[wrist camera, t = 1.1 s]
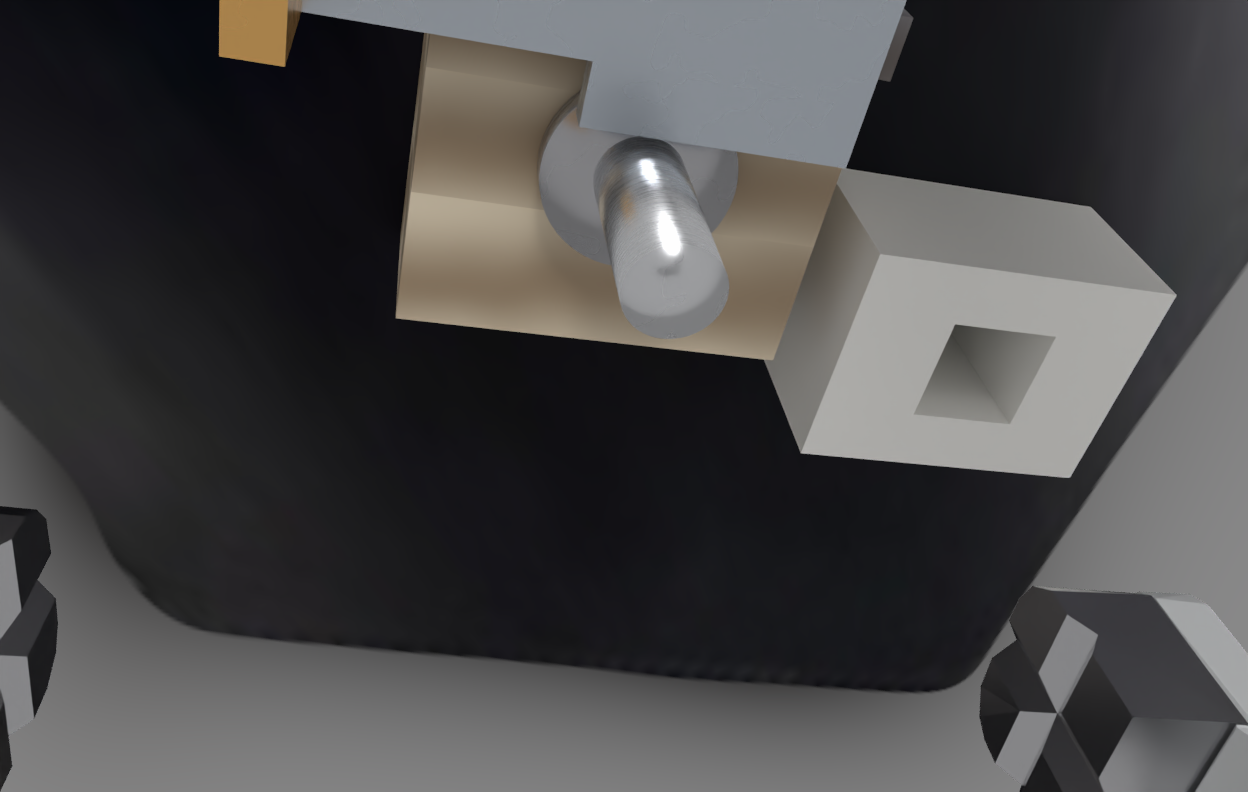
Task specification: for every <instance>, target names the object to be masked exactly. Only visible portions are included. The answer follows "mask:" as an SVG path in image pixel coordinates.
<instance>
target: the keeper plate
mask: <svg viewBox="0 0 1248 792" xmlns="http://www.w3.org/2000/svg"><path fill="white" fill-rule="evenodd" d="M905 3H906V0H220V19H219V56H220V57H227V58H233V59H239V60H245V61H252V62H258V63H264V64H271V65H277V66H283V67H285V65H286V61H287V58H288V55H289V51H290V48H291V45H292V41H293V38H294V34H295V31H296V28H297V24H298V21H299V18H300V14H301V12H307V13H313V14H318V15H324V16H330V17H336V18H342V19H348V20H353V21H359V22H365V23H371V24H377V25H383V26H389V27H394V28H400V29H406V30H412V31H418V32H424V33H430V34H435V35H441V36H447V37H453V38H459V39H465V40H471V41H476V42H482V43H488V44H494V45H500V46H506V47H511V48H517V49H523V50H529V51H535V52H541V53H547V54H552V55H558V56H564V57H570V58H576V59H582V60H587V61H586V66H585V71H584V76H583V81H582V86H581V91H580V96H579V101H578V105H577V110H576V116H577V120H578V124H579V127H583V128H589V129H596V130H602V131H609V132H615V133H621V134H628V135H634V136H640V137H647V138H653V139H660V140H666V141H672V142H679V143H685V144H692V145H698V146H704V147H711V148H717V149H723V150H730V151H736V152H743V153H749V154H755V155H762V156H768V157H775V158H781V159H787V160H794V161H800V162H806V163H813V164H819V165H826V166H832V167H838V168H845V169H846V167H847V164H848V161H849V158H850V156H851V153H852V150H853V147H854V145H855V142H856V139H857V136H858V133H859V131H860V128H861V125H862V122H863V120H864V117H865V114H866V111H867V109H868V106H869V103H870V100H871V97H872V95H873V92H874V89H875V86H876V84H877V81H878V78H879V75H880V72H881V70H882V67H883V64H884V61H885V59H886V56H887V53H888V50H889V48H890V45H891V42H892V39H893V36H894V34H895V31H896V28H897V25H898V23H899V20H900V17H901V14H902V12H903V9H904V6H905Z"/></svg>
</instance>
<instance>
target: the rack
mask: <svg viewBox="0 0 1248 792" xmlns="http://www.w3.org/2000/svg"><path fill="white" fill-rule="evenodd" d="M1176 296H1177V295H1176V294H1175V293H1174V292H1173V291H1172V290H1171V289H1170V288H1169V287H1168V286H1167V285H1166V284H1165V283H1164V282H1163V281H1162V279H1161V278H1160V277H1159V276H1158V275H1157V274H1156V273H1155V272H1154V271H1153V270H1152V269H1151V268H1150V267H1149V266H1148V265H1147V264H1146V263H1145V262H1144V261H1143V260H1142V259H1141V258H1140V257H1139V256H1138V255H1137V254H1136V253H1135V252H1134V251H1133V250H1132V249H1131V248H1130V247H1129V246H1128V245H1127V244H1126V243H1125V242H1124V241H1123V239H1122V238H1121V237H1120V236H1119V235H1118V234H1117V233H1116V232H1115V231H1114V230H1113V229H1112V228H1111V227H1110V226H1109V225H1108V224H1107V223H1106V222H1105V221H1104V220H1103V219H1102V218H1101V217H1100V216H1099V215H1098V214H1097V213H1096V212H1095V211H1094V210H1093V209H1092V208H1091V207H1088V206H1082V205H1076V204H1069V203H1063V202H1056V201H1050V200H1044V199H1037V198H1031V197H1025V196H1018V195H1012V194H1005V193H999V192H993V191H986V190H980V189H973V188H967V187H961V186H954V185H948V184H942V183H935V182H929V181H922V180H916V179H910V178H903V177H897V176H890V175H884V174H878V173H871V172H865V171H859V170H852V169H845V168H842V170H841V172H840V175H839V178H838V181H837V184H836V186H835V189H834V192H833V195H832V198H831V200H830V203H829V206H828V209H827V211H826V214H825V217H824V220H823V223H822V225H821V228H820V231H819V234H818V237H817V239H816V242H815V245H814V248H813V251H812V253H811V256H810V259H809V262H808V264H807V267H806V270H805V273H804V276H803V278H802V281H801V284H800V287H799V290H798V292H797V295H796V298H795V301H794V304H793V306H792V309H791V312H790V315H789V317H788V320H787V323H786V326H785V329H784V331H783V334H782V337H781V340H780V343H779V345H778V348H777V351H776V354H775V356H774V359H773V360H764V361H765V363H766V366H767V369H768V371H769V374H770V376H771V379H772V381H773V384H774V386H775V389H776V391H777V394H778V396H779V399H780V402H781V404H782V407H783V409H784V412H785V414H786V417H787V419H788V422H789V424H790V427H791V429H792V432H793V435H794V437H795V440H796V442H797V445H798V447H799V450H800V452H801V453H804V454H815V455H826V456H837V457H847V458H858V459H869V460H880V461H891V462H902V463H912V464H923V465H934V466H945V467H956V468H967V469H977V470H988V471H999V472H1010V473H1021V474H1032V475H1042V476H1053V477H1064V478H1070V477H1071V475H1072V473H1073V471H1074V470H1075V468H1076V466H1077V465H1078V463H1079V461H1080V460H1081V458H1082V456H1083V454H1084V453H1085V451H1086V449H1087V448H1088V446H1089V444H1090V442H1091V441H1092V439H1093V437H1094V436H1095V434H1096V432H1097V431H1098V429H1099V427H1100V425H1101V424H1102V422H1103V420H1104V419H1105V417H1106V415H1107V413H1108V412H1109V410H1110V408H1111V407H1112V405H1113V403H1114V401H1115V400H1116V398H1117V396H1118V395H1119V393H1120V391H1121V390H1122V388H1123V386H1124V384H1125V383H1126V381H1127V379H1128V378H1129V376H1130V374H1131V372H1132V371H1133V369H1134V367H1135V366H1136V364H1137V362H1138V361H1139V359H1140V357H1141V355H1142V354H1143V352H1144V350H1145V349H1146V347H1147V345H1148V343H1149V342H1150V340H1151V338H1152V337H1153V335H1154V333H1155V331H1156V330H1157V328H1158V326H1159V325H1160V323H1161V321H1162V320H1163V318H1164V316H1165V314H1166V313H1167V311H1168V309H1169V308H1170V306H1171V304H1172V302H1173V301H1174V299H1175V297H1176Z"/></svg>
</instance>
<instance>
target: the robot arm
mask: <svg viewBox="0 0 1248 792" xmlns="http://www.w3.org/2000/svg"><path fill="white" fill-rule="evenodd" d="M50 554H51V550H50V543H49V536H48V529H47V522H46V519H45V517H44V516H43V515H42V514H40V513H39V512H38V511H37V510H34V509H22V508H13V507H2V506H0V791H1V789H2V787H3V785H4V783H5V781H6V778H7V776H8V774H9V772H10V770H11V768H12V759H11V751H10V743H9V735H11V734H12V733H14V732H15V731H17V730H18V729H19V728H21V727H23V726H24V725H26V724H27V723H29V722H30V721H32V720H33V719H34V718H35V716H36V713H37V711H38V709H39V706H40V704H41V702H42V700H43V697H44V695H45V693H46V690H47V687H48V683H49V679H50V675H51V671H52V667H53V663H54V659H55V654H56V644H57V628H58V627H57V626H58V621H57V609H56V598H55V597H54V596H53V595H52V594H51V593H50V592H49V591H48V590H47V589H46V588H45V587H44V586H43V585H42V584H41V583H40V582H39V581H38V580H37V579H38V578H39V576H40V574H41V572H42V570H43V568H44V566H45V564H46V562H47V560H48V558H49V556H50ZM1009 621H1010V624H1011V627H1012V629H1013V632H1014V634H1015V637H1016V641H1014V642H1013V643H1012V644H1010V645H1009V646H1007V647H1006V648H1005V649H1003V650H1002V651H1001V652H999V653H998V654H997V655H995V656H994V657H993V658H992V660H991V662H990V664H989V667H988V669H987V672H986V674H985V677H984V680H983V682H982V685H981V694H980V714H979V717H980V721H981V726H982V731H983V735H984V740H985V742H986V744H987V746H988V749H989V751H990V753H991V755H992V758H993V760H994V762H995V764H997V765H998V766H999V767H1000V768H1001V769H1003V770H1004V771H1005V772H1006V773H1007V774H1009V775H1010V776H1011V777H1012V778H1014V779H1015V780H1016V781H1017V782H1018V783H1020V784H1021V788H1020V792H1248V654H1247V652H1246V651H1245V650H1244V649H1243V648H1242V646H1241V645H1240V644H1239V642H1238V641H1237V640H1236V639H1235V637H1234V636H1233V635H1232V634H1231V633H1230V631H1229V630H1228V629H1227V628H1226V626H1225V625H1224V624H1223V623H1222V621H1220V619H1219V618H1218V616H1217V615H1216V614H1215V613H1214V612H1213V611H1212V609H1211V608H1210V607H1209V605H1208V604H1206V603H1205V602H1203V601H1201V600H1199V599H1198V598H1196V597H1194V596H1192V595H1190V594H1174V593H1153V592H1137V593H1125V592H1110V591H1097V590H1082V589H1068V588H1053V587H1039V586H1032V587H1031V588H1030V589H1029V590H1028V591H1027V592H1026V593H1025V594H1024V595H1022V596H1021V597H1020V598H1019V600H1018V602H1017V604H1016V607H1015V609H1014V611H1013V613H1012V615H1011V617H1010V619H1009Z"/></svg>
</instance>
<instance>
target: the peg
mask: <svg viewBox="0 0 1248 792" xmlns="http://www.w3.org/2000/svg"><path fill="white" fill-rule="evenodd" d="M580 91H581V90H580ZM580 91H578V92H577V93H576V94H575V95H573V96H572V97H571V98H570V99H569V100H568V101H567V102H566V103H565V104H564V105H563V106H562V107H561V108H560V109H559V110H558V112H557V113H556V114H555V115H554V117H553V118H552V120H551V122H550V123H549V125H548V127H547V129H546V131H545V133H544V136H543V138H542V141H541V145H540V149H539V153H538V161H537V176H538V183H539V189H540V195H541V201H542V205H543V208H544V211H545V214H546V216H547V218H548V220H549V222H550V224H551V225H552V227H553V228H554V230H555V231H556V233H557V234H558V235H559V236H560V237H561V238H562V239H563V240H564V241H565V242H566V243H567V244H568V245H569V246H570V247H572V248H573V249H574V250H576V251H577V252H579V253H580V254H582V255H584V256H586V257H588V258H590V259H592V260H594V261H597V262H600V263H603V264H607V265H611V266H612V270H613V274H614V279H615V283H616V287H617V292H618V296H619V300H620V304H621V308H622V311H623V313H624V315H625V317H626V319H627V320H628V321H629V323H630V324H631V325H632V326H633V327H635V328H636V329H637V330H639V331H640V332H642V333H644V334H646V335H648V336H652V337H655V338H661V339H677V338H683V337H686V336H690V335H692V334H695V333H697V332H699V331H701V330H703V329H704V328H706V327H707V326H708V325H710V324H711V323H712V322H713V321H714V320H715V319H716V318H717V317H718V316H719V314H720V313H721V312H722V310H723V308H724V306H725V304H726V301H727V299H728V294H729V279H728V275H727V272H726V270H725V267H724V265H723V262H722V260H721V257H720V254H719V252H718V249H717V247H716V244H715V242H714V239H713V237H712V234H711V233H712V232H713V231H714V230H715V229H716V228H717V227H718V225H719V224H720V223H721V221H722V220H723V218H724V217H725V215H726V213H727V211H728V209H729V207H730V206H731V203H732V200H733V198H734V195H735V191H736V187H737V182H738V171H739V170H738V156H737V152H736V151H730V150H723V149H717V148H711V147H704V146H698V145H692V144H685V143H679V142H672V141H666V140H660V139H653V138H647V137H640V136H634V135H628V134H621V133H615V132H609V131H602V130H596V129H589V128H583V127H579V124H578V120H577V116H576V110H577V105H578V101H579V96H580Z"/></svg>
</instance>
